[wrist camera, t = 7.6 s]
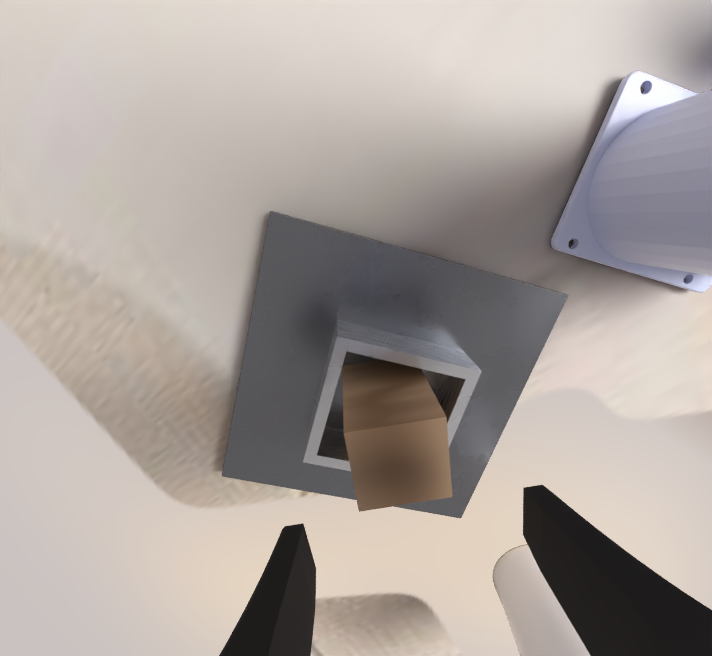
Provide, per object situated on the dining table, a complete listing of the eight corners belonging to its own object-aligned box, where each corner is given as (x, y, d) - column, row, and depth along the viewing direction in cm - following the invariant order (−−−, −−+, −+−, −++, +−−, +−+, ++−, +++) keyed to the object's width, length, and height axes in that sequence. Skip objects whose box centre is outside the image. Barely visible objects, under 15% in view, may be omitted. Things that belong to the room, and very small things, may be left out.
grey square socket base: (561, 292, 18) (605, 307, 15) (457, 510, 23) (475, 555, 20) (272, 211, 16) (257, 210, 13) (224, 469, 21) (205, 512, 18)
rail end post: (413, 354, 18) (446, 416, 13) (419, 415, 20) (452, 496, 14) (342, 365, 18) (343, 433, 13) (353, 426, 20) (359, 511, 14)
